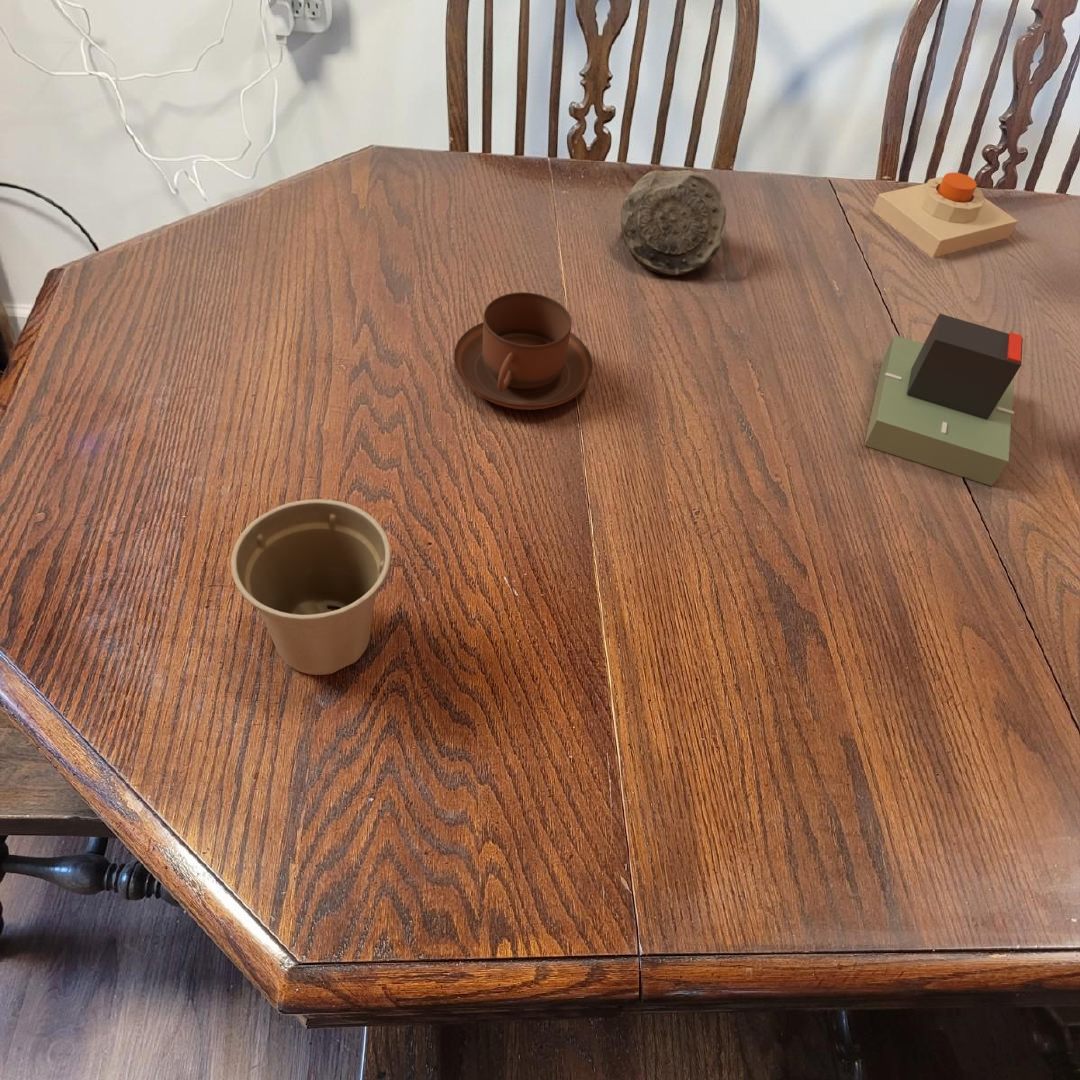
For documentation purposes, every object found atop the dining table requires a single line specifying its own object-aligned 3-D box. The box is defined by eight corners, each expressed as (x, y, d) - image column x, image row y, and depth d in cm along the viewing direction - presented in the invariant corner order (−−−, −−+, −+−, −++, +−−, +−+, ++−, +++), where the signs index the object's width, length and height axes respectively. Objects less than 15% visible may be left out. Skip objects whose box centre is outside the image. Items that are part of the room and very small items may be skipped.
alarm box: (946, 194, 112) (961, 162, 109) (1008, 238, 107) (1025, 206, 104) (871, 211, 108) (884, 178, 105) (932, 258, 102) (948, 225, 99)
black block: (906, 394, 81) (936, 336, 77) (911, 368, 84) (940, 310, 79) (987, 420, 80) (1023, 362, 76) (990, 392, 83) (1024, 335, 78)
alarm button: (953, 184, 106) (960, 169, 105) (976, 200, 104) (984, 186, 103) (930, 189, 105) (937, 175, 103) (953, 206, 103) (960, 191, 101)
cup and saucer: (592, 427, 79) (602, 370, 75) (449, 417, 78) (451, 358, 74) (586, 338, 87) (596, 281, 82) (457, 328, 86) (459, 270, 81)
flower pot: (247, 590, 65) (228, 506, 58) (384, 573, 67) (380, 490, 61) (253, 707, 59) (232, 629, 53) (402, 685, 61) (401, 607, 55)
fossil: (635, 283, 92) (632, 174, 89) (604, 273, 101) (599, 173, 97) (736, 271, 95) (737, 164, 91) (697, 262, 103) (696, 164, 99)
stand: (881, 359, 89) (894, 333, 87) (1000, 395, 88) (1016, 369, 85) (862, 445, 81) (876, 418, 79) (993, 486, 79) (1011, 460, 77)
